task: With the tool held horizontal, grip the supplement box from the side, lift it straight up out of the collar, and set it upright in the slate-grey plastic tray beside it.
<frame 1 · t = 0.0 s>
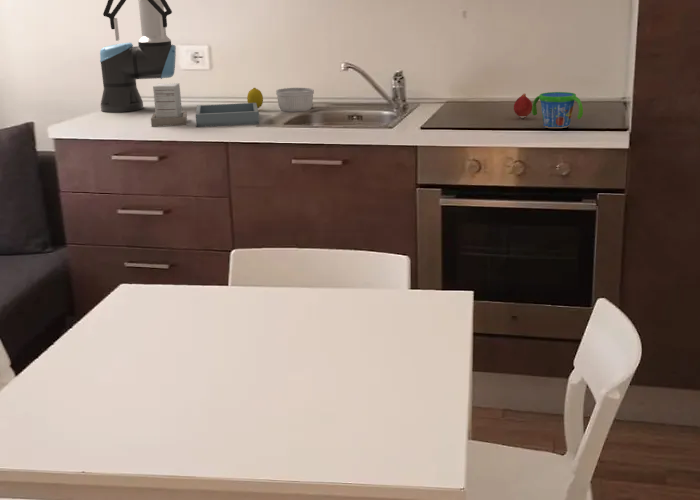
hand: (140, 39, 269), 28 cm above the table, tool pointing down, fingers open, 13 cm apart
lemon: (255, 111, 312), on the table
tray: (227, 120, 292), on the table
supplement box: (169, 123, 291), resting in collar
onion: (522, 119, 280), on the table
ramekin: (295, 110, 312), on the table
collar: (169, 122, 291), on the table
snack cup: (556, 129, 263), on the table
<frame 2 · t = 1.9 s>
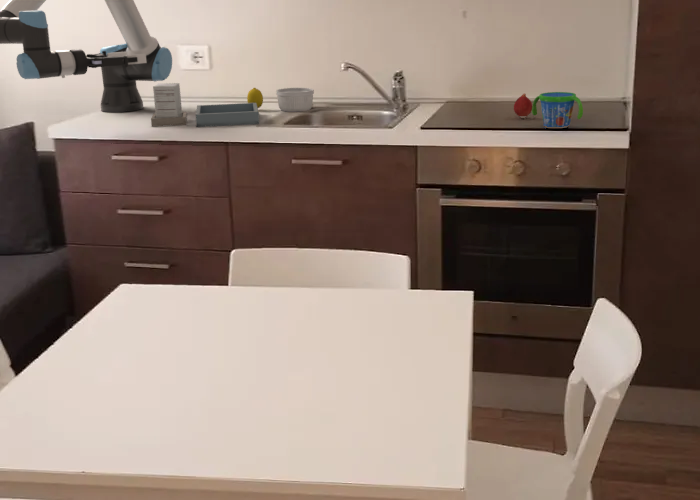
hand: (136, 57, 279), 22 cm above the table, tool horizontal, fingers open, 13 cm apart
nothing on the table moved.
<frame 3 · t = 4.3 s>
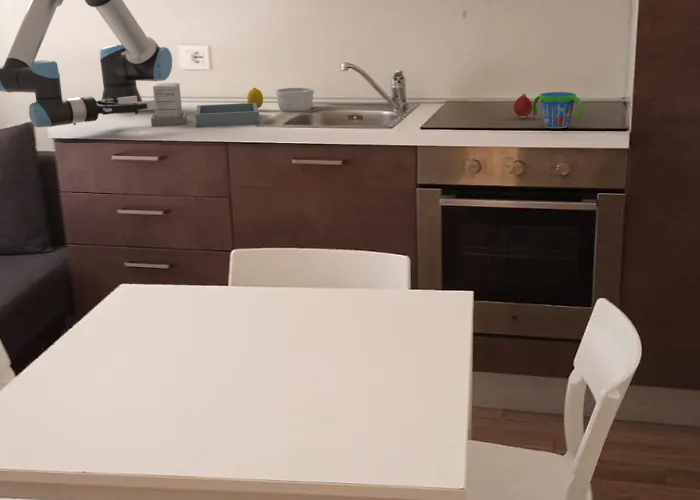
hand: (145, 102, 284), 8 cm above the table, tool horizontal, fingers open, 13 cm apart
nothing on the table moved.
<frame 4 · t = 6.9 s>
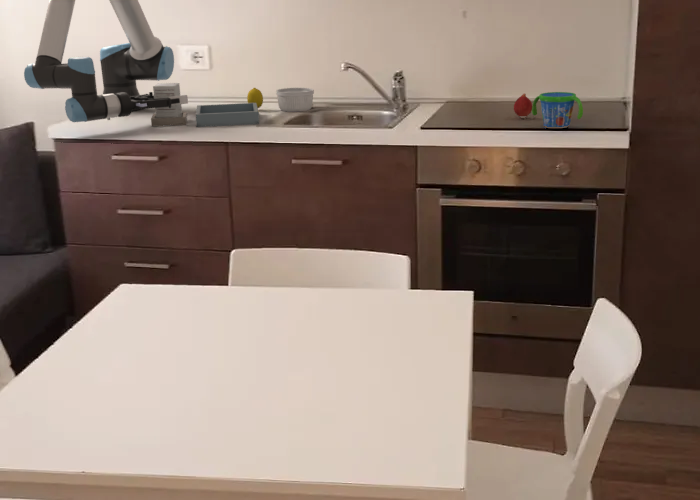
hand: (179, 97, 291), 8 cm above the table, tool horizontal, fingers closed on supplement box, 10 cm apart
supplement box: (169, 123, 291), resting in collar, touching gripper
everything else where it was.
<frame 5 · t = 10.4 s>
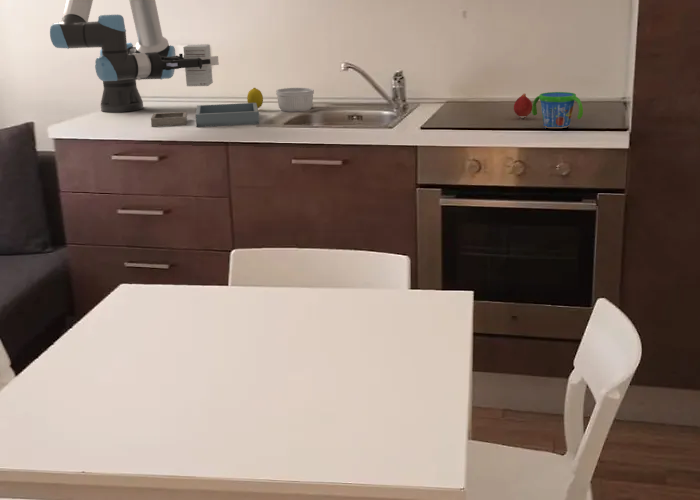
hand: (209, 59, 287), 20 cm above the table, tool horizontal, fingers closed on supplement box, 10 cm apart
supplement box: (199, 85, 287), point 12 cm above the table, touching gripper
everything else where it was.
when the fingers open (10 cm above the table, at t = 13.9 s): supplement box drops 1 cm, resting on tray.
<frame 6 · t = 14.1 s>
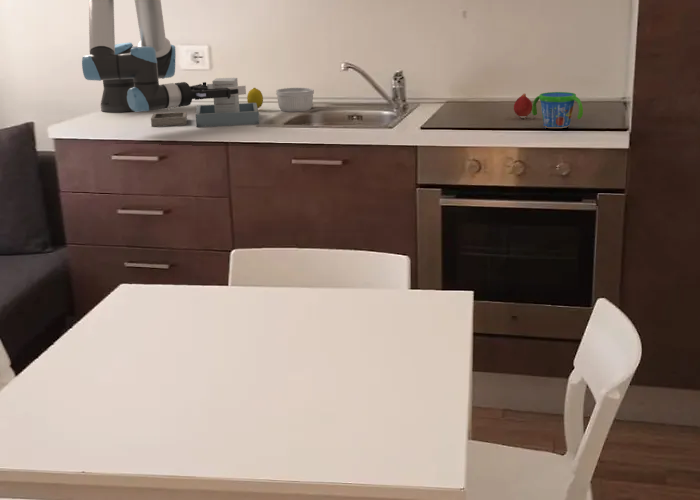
hand: (235, 88, 291), 10 cm above the table, tool horizontal, fingers open, 12 cm apart
supplement box: (227, 118, 292), point 1 cm above the table, touching tray
everything else where it was.
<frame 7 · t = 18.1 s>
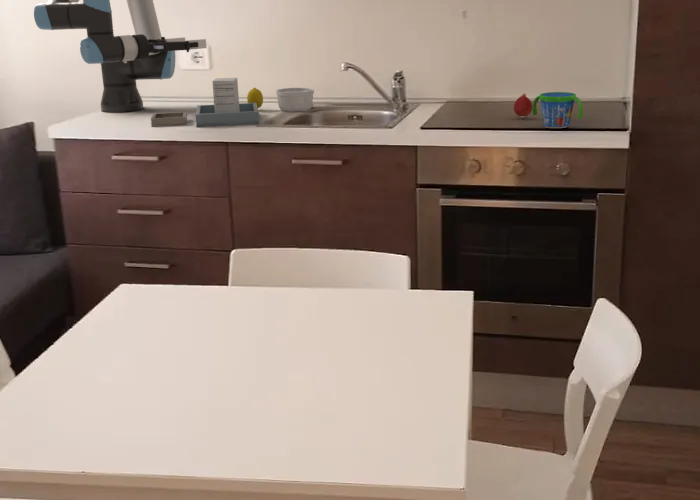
hand: (195, 42, 279), 26 cm above the table, tool horizontal, fingers open, 13 cm apart
nothing on the table moved.
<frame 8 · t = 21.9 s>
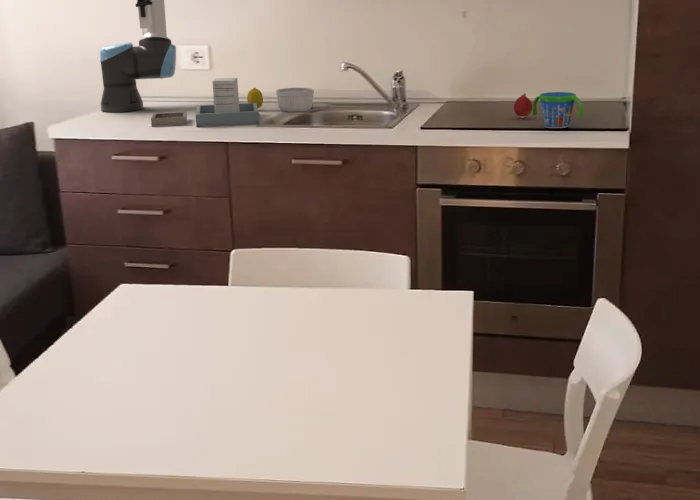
hand: (146, 27, 285), 31 cm above the table, tool pointing down, fingers open, 13 cm apart
nothing on the table moved.
at the end: supplement box inside the target area on the tray (0.2 cm from its centre), point 0.8 cm above the tray's base; supplement box tilted 0°; the gripper is holding nothing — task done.
